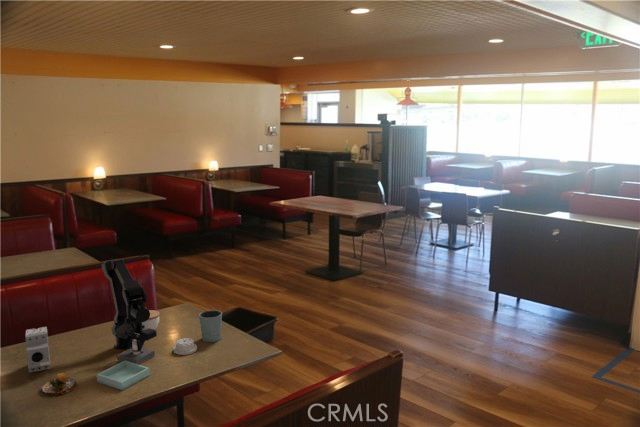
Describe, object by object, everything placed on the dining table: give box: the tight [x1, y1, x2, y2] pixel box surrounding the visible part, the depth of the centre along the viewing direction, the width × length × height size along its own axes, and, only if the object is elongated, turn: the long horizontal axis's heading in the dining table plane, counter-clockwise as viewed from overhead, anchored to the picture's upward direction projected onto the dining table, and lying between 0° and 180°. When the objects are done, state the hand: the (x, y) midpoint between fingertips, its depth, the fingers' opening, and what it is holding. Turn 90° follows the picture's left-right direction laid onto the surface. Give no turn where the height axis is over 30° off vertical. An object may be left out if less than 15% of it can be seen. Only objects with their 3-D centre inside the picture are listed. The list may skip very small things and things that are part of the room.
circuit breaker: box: [25, 326, 51, 373], centre depth 212 cm, size 8×14×15 cm, turn 27°
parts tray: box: [96, 361, 151, 391], centre depth 207 cm, size 14×14×3 cm
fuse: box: [131, 339, 140, 356], centre depth 223 cm, size 3×3×8 cm
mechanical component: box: [172, 337, 198, 356], centre depth 232 cm, size 10×4×10 cm
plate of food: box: [40, 371, 77, 397], centre depth 199 cm, size 12×12×8 cm
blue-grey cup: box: [198, 309, 223, 343], centre depth 244 cm, size 10×10×12 cm
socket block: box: [118, 347, 156, 365], centre depth 224 cm, size 10×10×2 cm
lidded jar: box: [142, 309, 160, 330], centre depth 254 cm, size 11×11×9 cm
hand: (136, 350), depth 224 cm, fingers closed on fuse, 3 cm apart
